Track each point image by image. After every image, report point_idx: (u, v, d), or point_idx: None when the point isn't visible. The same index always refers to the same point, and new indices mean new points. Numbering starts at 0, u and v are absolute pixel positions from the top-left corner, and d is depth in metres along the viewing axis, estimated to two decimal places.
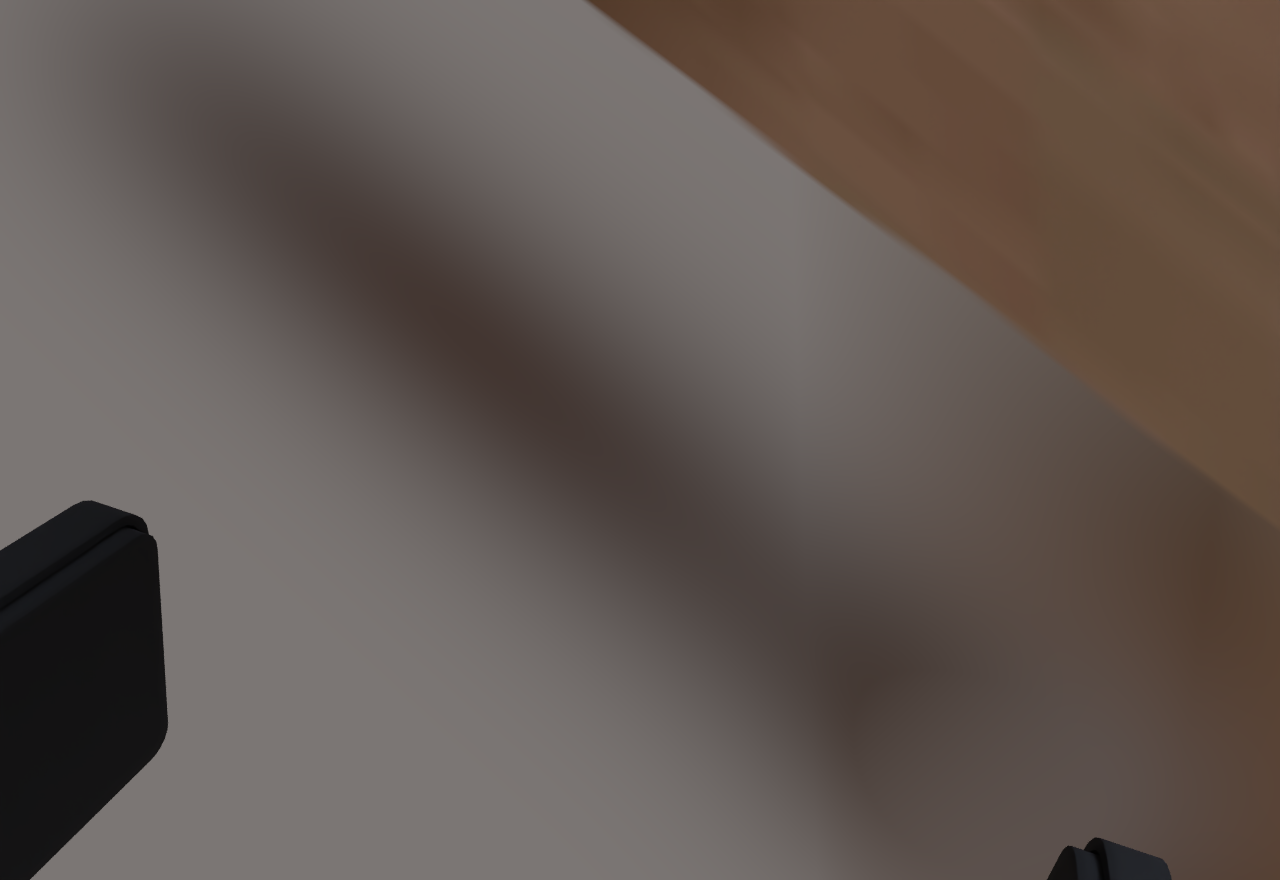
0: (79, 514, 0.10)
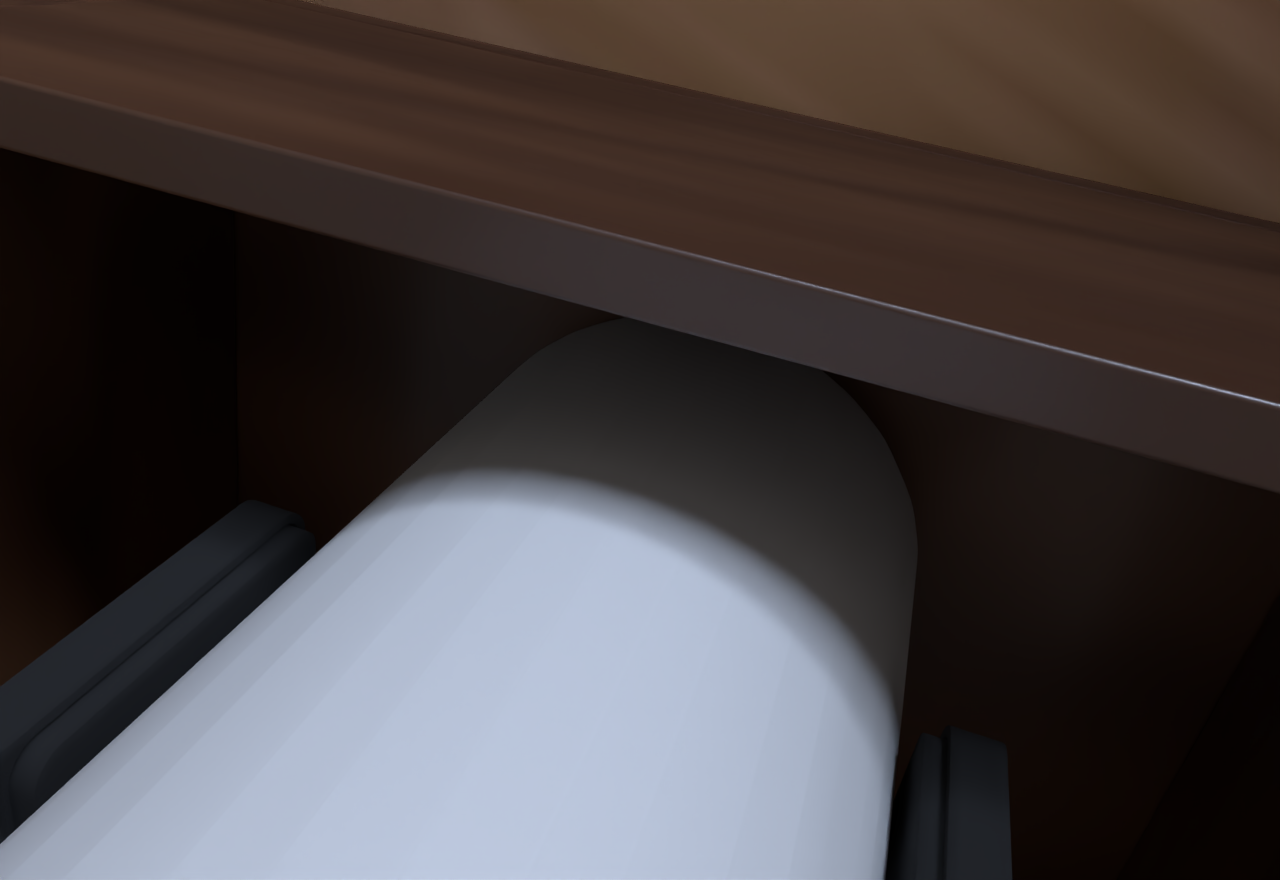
0: (247, 512, 0.10)
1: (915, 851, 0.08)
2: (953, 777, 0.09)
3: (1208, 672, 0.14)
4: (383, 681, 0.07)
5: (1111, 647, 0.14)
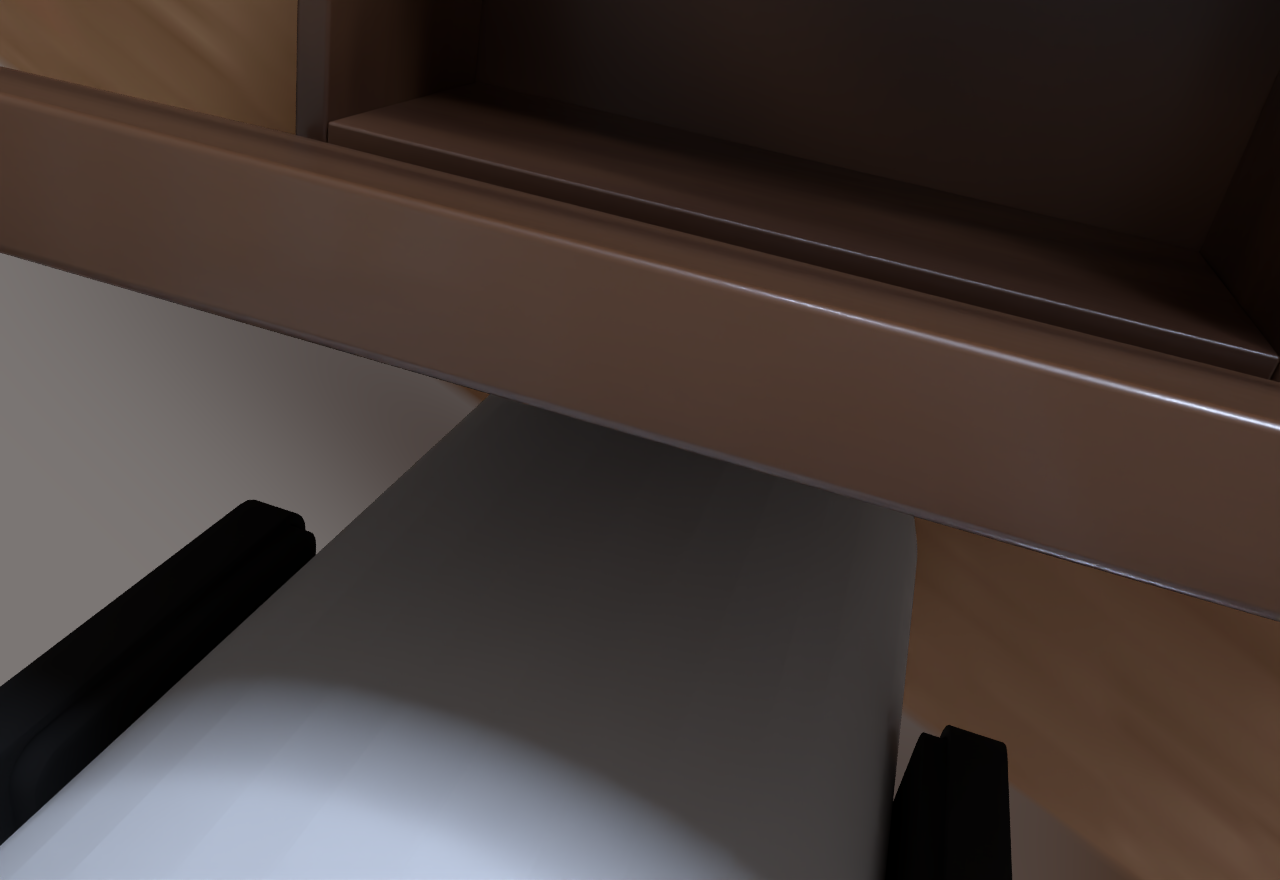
0: (247, 513, 0.10)
1: (915, 851, 0.08)
2: (953, 777, 0.09)
3: None
4: (383, 682, 0.07)
5: None
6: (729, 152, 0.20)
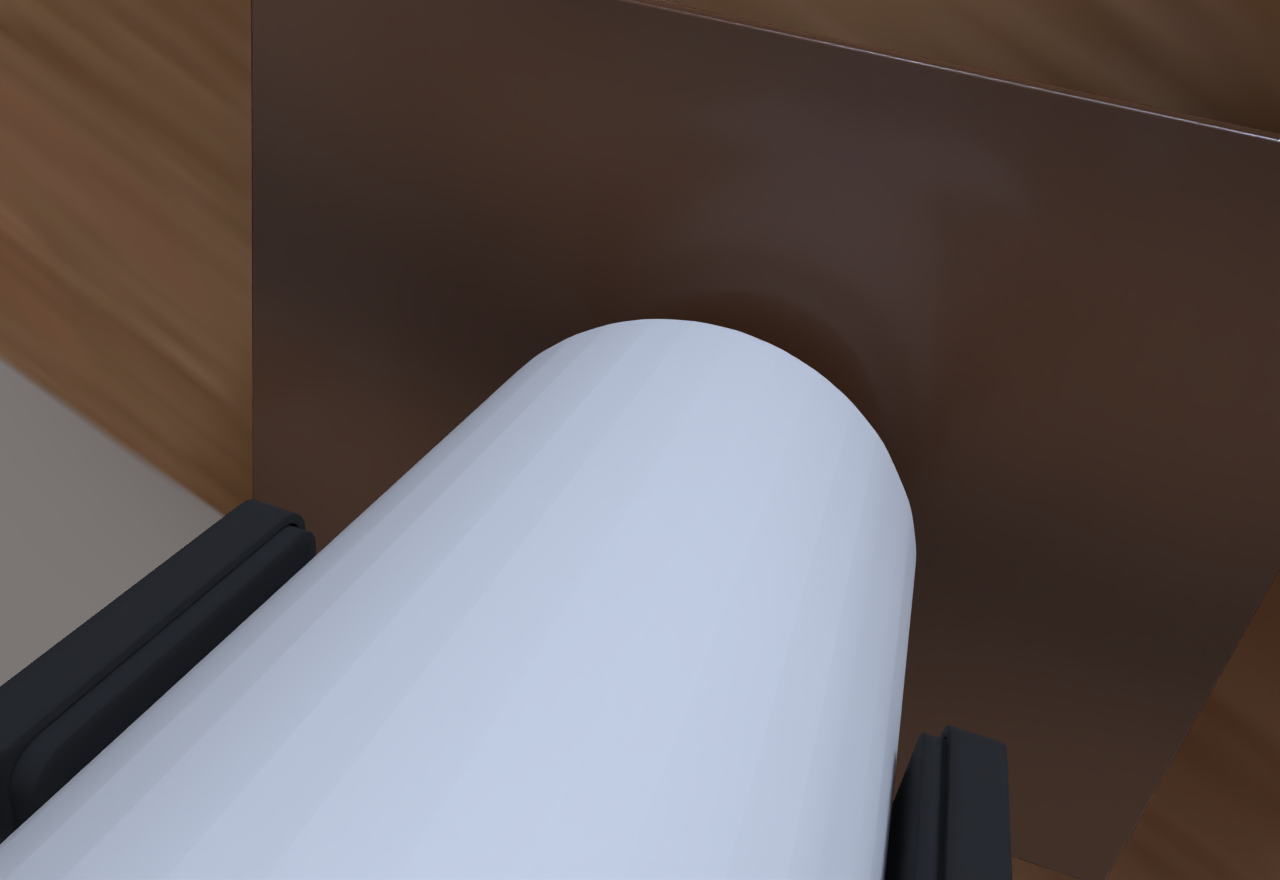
0: (247, 512, 0.10)
1: (915, 851, 0.08)
2: (953, 777, 0.09)
3: None
4: (383, 680, 0.07)
5: None
6: None
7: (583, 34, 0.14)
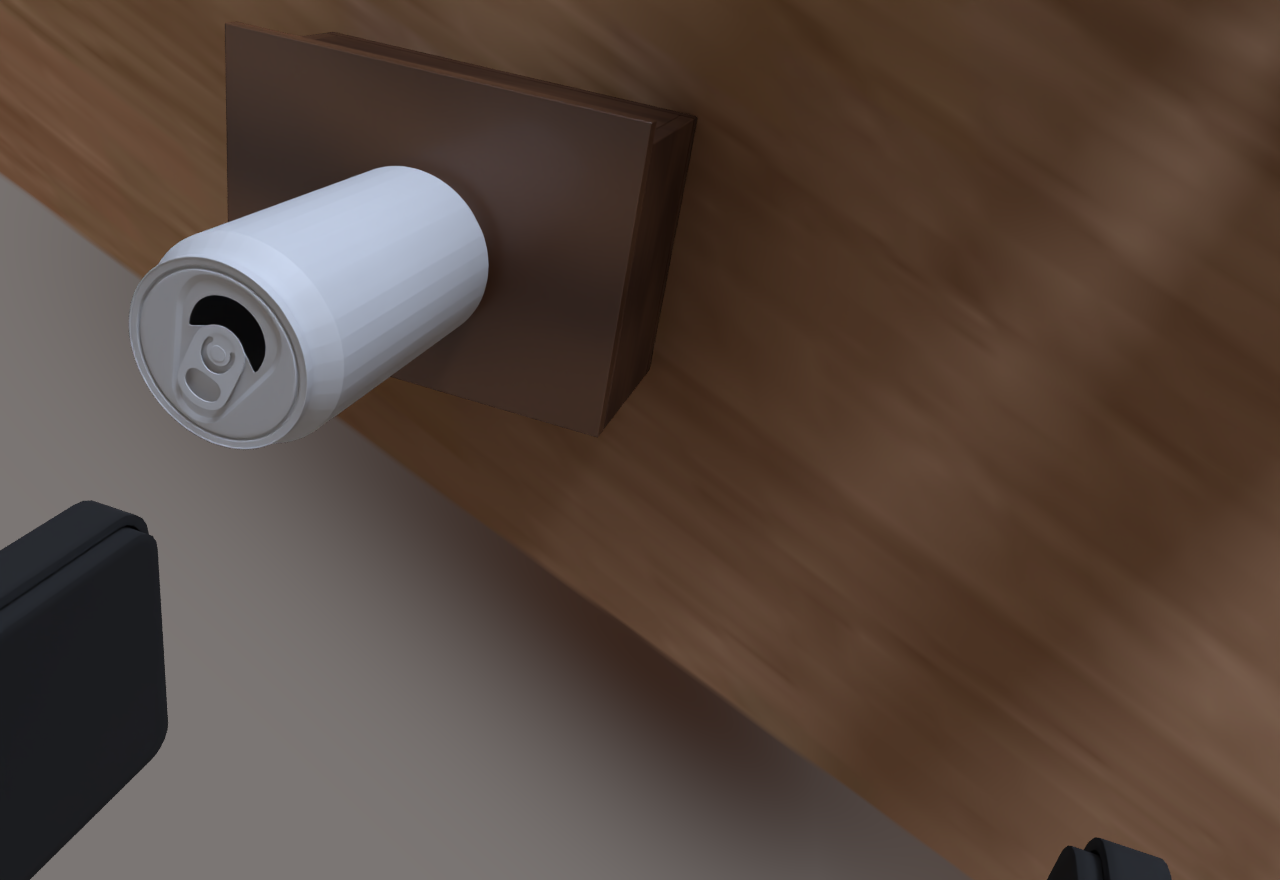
0: (79, 514, 0.10)
1: None
2: None
3: None
4: (274, 212, 0.30)
5: None
6: None
7: (351, 69, 0.37)
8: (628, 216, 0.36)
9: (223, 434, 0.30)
